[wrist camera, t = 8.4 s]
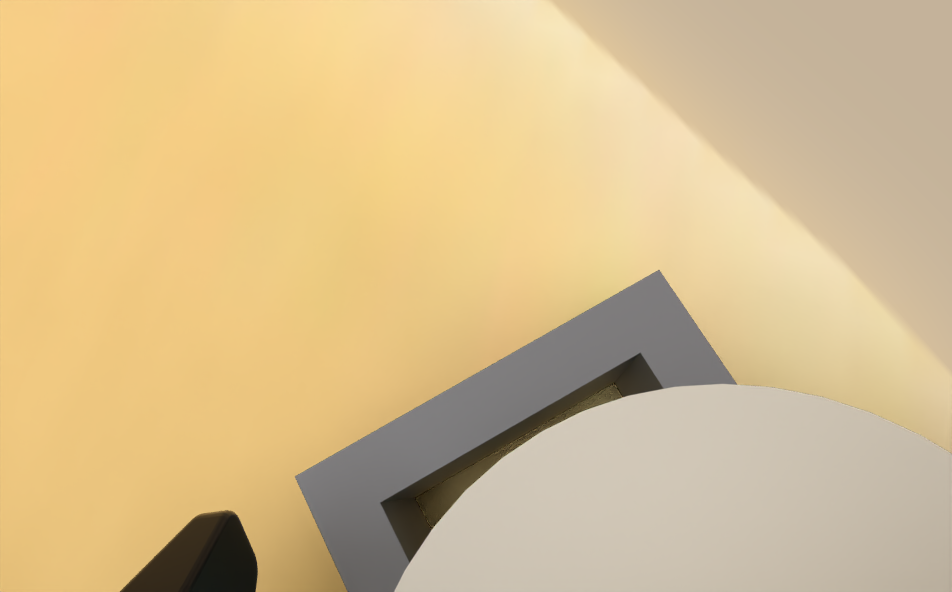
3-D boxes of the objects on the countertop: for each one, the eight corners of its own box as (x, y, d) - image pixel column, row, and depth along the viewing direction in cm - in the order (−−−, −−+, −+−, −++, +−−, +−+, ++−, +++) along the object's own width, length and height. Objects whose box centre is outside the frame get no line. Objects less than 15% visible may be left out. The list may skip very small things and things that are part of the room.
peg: (698, 584, 15) (1453, 1044, 3) (545, 677, 15) (627, 1639, 3) (603, 428, 16) (843, 255, 4) (459, 512, 16) (219, 618, 4)
